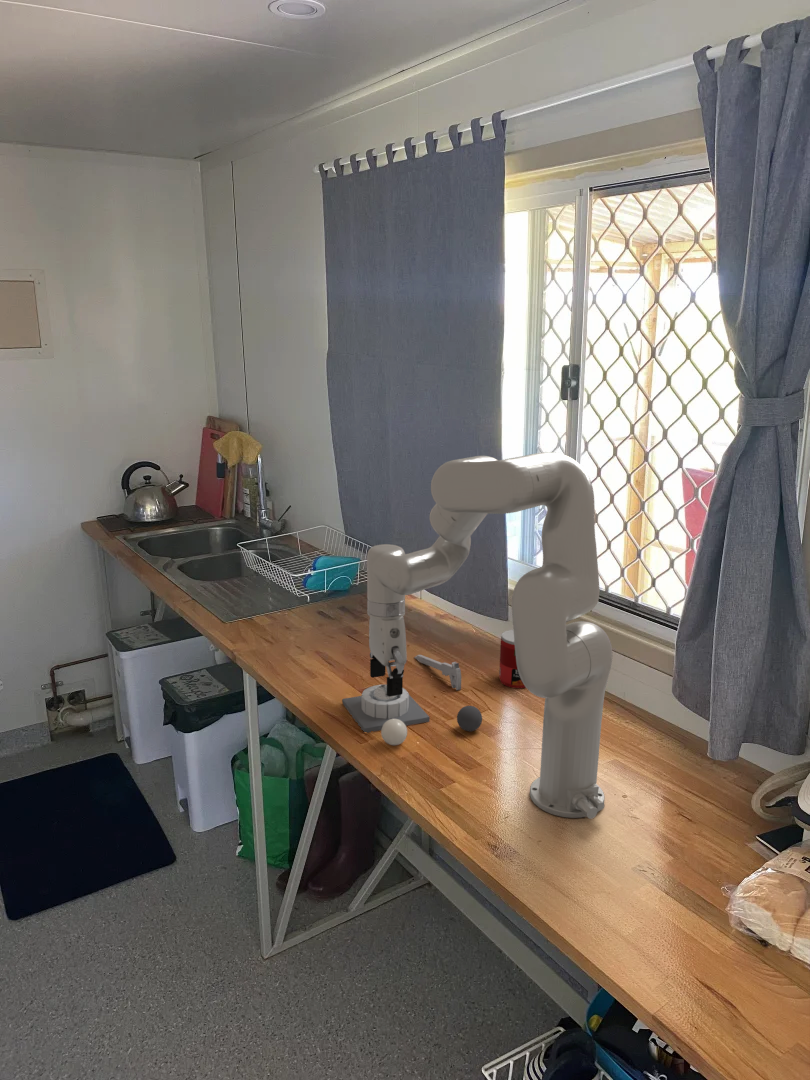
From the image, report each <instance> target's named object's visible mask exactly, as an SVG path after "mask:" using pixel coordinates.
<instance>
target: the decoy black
mask: <svg viewBox="0 0 810 1080" xmlns="http://www.w3.org/2000/svg"><path fill="white" fill-rule="evenodd" d="M456 715H457V716H456V722H457V724H458V727H460V728H461V729H462V730H463V731H465V732H474V731H476V730H478V729H479V727H481V725H482V722H483V716H482V712H481V711H480V709H478V707H476V706H474V705H465V706H463V707H462V708H460V709H459V710H458V713H457V714H456Z"/></svg>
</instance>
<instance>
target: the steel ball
mask: <svg viewBox="0 0 810 1080" xmlns="http://www.w3.org/2000/svg"><path fill="white" fill-rule="evenodd" d="M379 685H380V686H379V687H377V688H376V690H375V691H374V694H373V699H374V700H377V701H384V702H388V701H394V700H396V699H397V695H396V696H390V697H388V696H387V683H386V684H379Z"/></svg>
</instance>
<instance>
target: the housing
mask: <svg viewBox="0 0 810 1080" xmlns="http://www.w3.org/2000/svg"><path fill="white" fill-rule="evenodd" d="M380 685H381V684H377V685H372V686H369V687H367V688H365V689H364V690H363V691H362V693H361V695H358V696H351V697H346V698H342V699H341V700H342V704H343V706H344V707H345V708H346V710H347V712H348V713H349V715H350V716H351V715H352V716H351V717H352V719H353V720H354V719H355V720H354V721H355V723H356V722H357V723H358V724H357V723H356V724H357V726H358V727H359V726H360V727H361V728H360V727H359V728H360V730H361V731H362V730H363V731H364V732H367V733H371V731H373V732H378V731H381V729H382V726H383V724H384V723H385V722H386V721H388V720H390V719H399V720H401V721H402V722H403V723H404V724H405V725H406V727H407V726H413V725H418V724H423V723H430V715H429V714H428V713H426V711H425V710H424V709H423V708H422V707H421V706H420V705H419V704H418V702H416V701H415V699H414V698H413V697H412V696H411V695H410V693H409V692H408V691H407V689H405V688H404V687H403V693H402V694H401V695H397V699H396V700H394V701H388V702H384V701H377V700H374V699H373V694H374V691H375V690H376V688H377V687H379V686H380ZM363 731H362V732H363ZM364 732H363V733H364Z"/></svg>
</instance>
